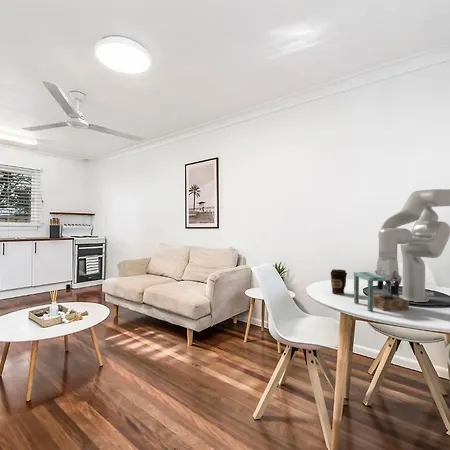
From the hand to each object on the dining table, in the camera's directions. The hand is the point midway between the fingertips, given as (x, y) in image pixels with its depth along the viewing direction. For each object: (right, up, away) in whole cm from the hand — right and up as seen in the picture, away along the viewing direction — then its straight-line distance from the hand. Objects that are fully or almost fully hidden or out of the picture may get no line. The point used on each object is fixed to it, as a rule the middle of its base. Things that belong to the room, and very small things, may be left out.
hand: (387, 291), depth 134 cm
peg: (0, -7, 0) cm, 7 cm away
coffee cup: (-14, -7, +23) cm, 28 cm away
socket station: (-3, -7, 0) cm, 8 cm away
